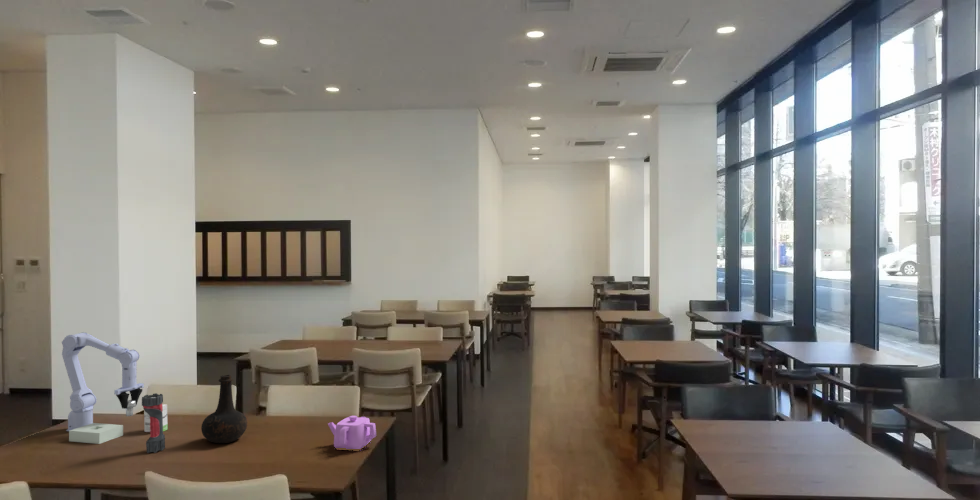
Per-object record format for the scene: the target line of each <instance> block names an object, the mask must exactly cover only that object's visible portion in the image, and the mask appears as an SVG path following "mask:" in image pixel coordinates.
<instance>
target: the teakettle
mask: <svg viewBox="0 0 980 500" xmlns="http://www.w3.org/2000/svg"><path fill="white" fill-rule="evenodd" d="M327 425H328V427H329V429H330V431H331V433H332V434H333V447H335V448H346V449H361V448H363V447H364V446H366V445H367V444H368V443H369V442H370V441H372V440H373V439H374V438H376V437H377V429H376V423H374V422H370V418H369V417H366V416H361V417H358V416H357V415H349V416H347V417H345V418H344V419H342V420H340V421H339V422H337V424H335V423H334V422H333V421H332V422H329V423H328V422H327ZM370 443H371V442H370ZM335 448H334V449H335Z"/></svg>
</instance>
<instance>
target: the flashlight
mask: <svg viewBox="0 0 980 500" xmlns="http://www.w3.org/2000/svg"><path fill="white" fill-rule="evenodd" d="M163 403H164V395H163V393H160V394H158V393H152V394H145V395H143V396H141V406H142V408H143V411H145V412H147V413H148V414H149V416H150V430H151V431H150V432H149V435H150V436H149V437H148V439H147V440H146V441H145V445H146V446H145V447H146V453H147V454H150V453H154V454H155V453H158V452H159V451H160V452H161V451H164V449H166V436H165V434H164V431H163V416H162V410H163V407H162V404H163Z"/></svg>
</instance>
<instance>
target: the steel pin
mask: <svg viewBox="0 0 980 500" xmlns="http://www.w3.org/2000/svg"><path fill="white" fill-rule="evenodd" d="M136 406H137V405H136V400H131V399H128V403H127V408H126V409H125V417H133V416H134V408H135V407H136Z"/></svg>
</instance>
